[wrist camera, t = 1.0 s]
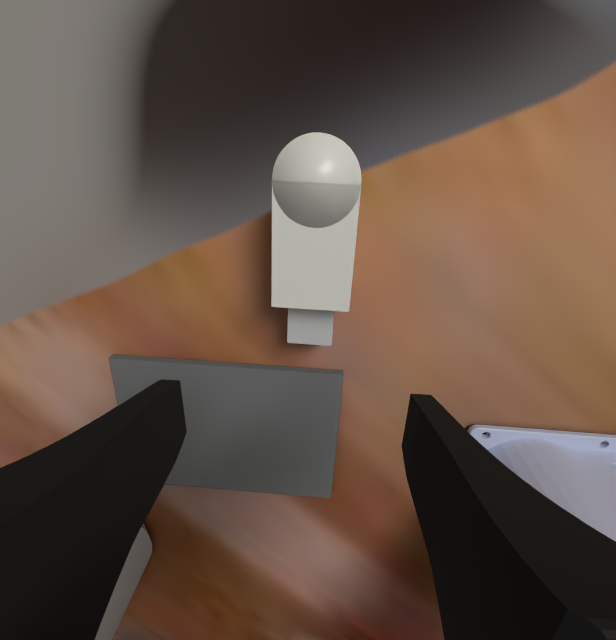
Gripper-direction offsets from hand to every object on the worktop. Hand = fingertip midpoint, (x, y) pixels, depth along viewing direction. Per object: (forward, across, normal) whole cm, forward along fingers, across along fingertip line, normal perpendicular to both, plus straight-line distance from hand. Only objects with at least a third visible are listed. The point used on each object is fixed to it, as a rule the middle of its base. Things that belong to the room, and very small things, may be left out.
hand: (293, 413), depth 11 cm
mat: (+10, +5, +9) cm, 14 cm away
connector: (+10, 0, -4) cm, 10 cm away
